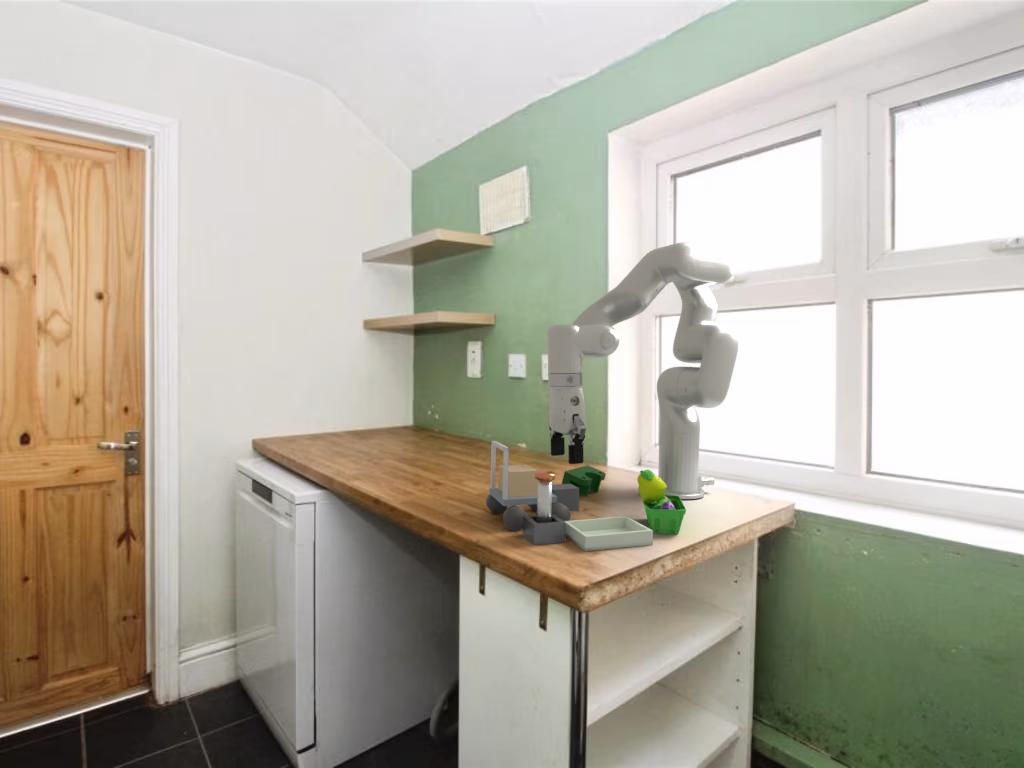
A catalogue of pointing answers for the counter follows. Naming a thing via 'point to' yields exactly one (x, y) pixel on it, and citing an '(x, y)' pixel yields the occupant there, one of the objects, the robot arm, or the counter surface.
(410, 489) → the counter surface
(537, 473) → the pin
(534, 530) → the bracket
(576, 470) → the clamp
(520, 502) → the trolley
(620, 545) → the tray
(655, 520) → the fruit basket
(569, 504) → the grey rectangular block
